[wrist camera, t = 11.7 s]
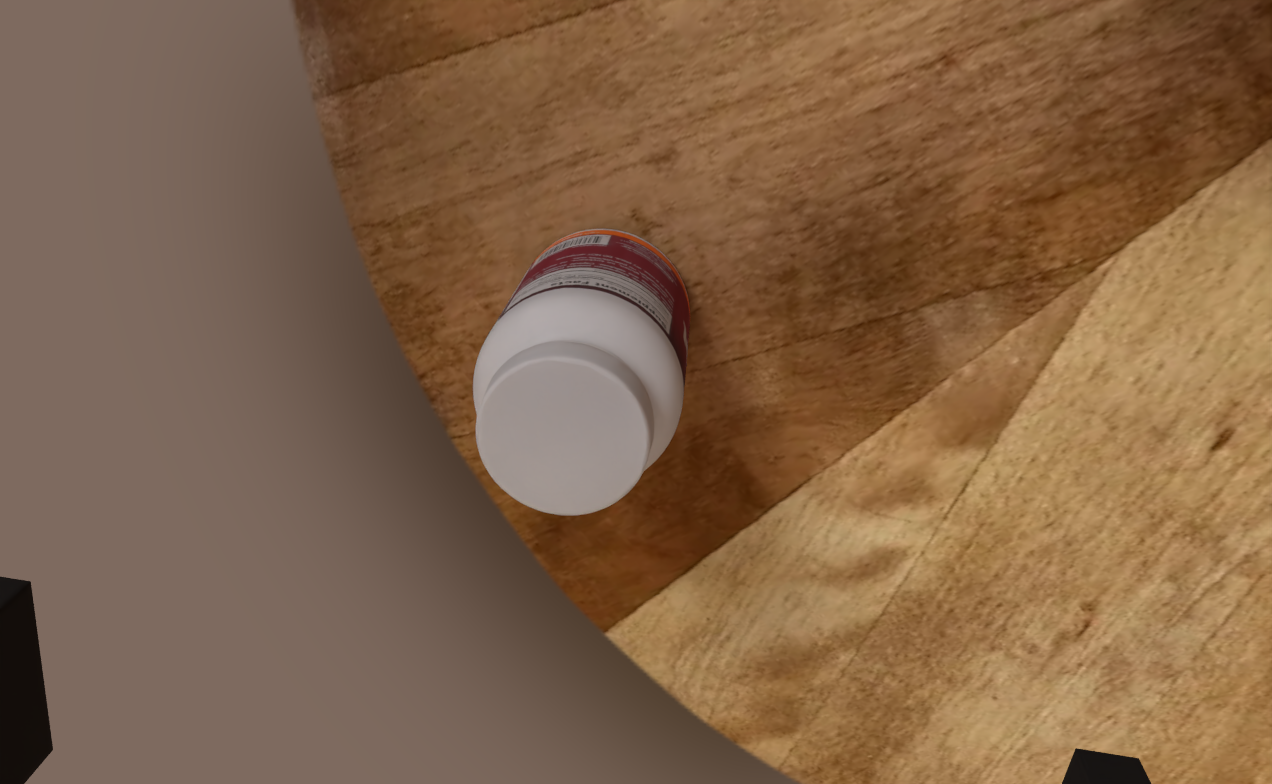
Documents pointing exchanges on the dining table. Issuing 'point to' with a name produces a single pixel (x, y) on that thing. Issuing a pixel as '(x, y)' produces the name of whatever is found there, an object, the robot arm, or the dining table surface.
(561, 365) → the pill bottle
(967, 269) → the dining table surface
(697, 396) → the dining table surface
